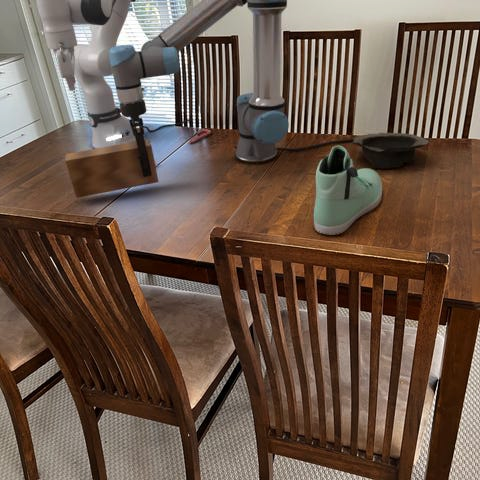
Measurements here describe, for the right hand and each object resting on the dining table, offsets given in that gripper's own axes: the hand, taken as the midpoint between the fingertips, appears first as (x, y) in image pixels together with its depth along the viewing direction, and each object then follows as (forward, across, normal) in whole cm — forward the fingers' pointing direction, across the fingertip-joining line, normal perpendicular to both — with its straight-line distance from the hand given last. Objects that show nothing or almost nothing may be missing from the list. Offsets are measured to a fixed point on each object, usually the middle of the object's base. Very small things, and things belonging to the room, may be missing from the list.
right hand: (146, 171), depth 156 cm
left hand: (-26, +18, +17) cm, 36 cm away
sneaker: (+8, -37, -54) cm, 65 cm away
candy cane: (+7, +43, -25) cm, 51 cm away
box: (+3, 0, +10) cm, 10 cm away
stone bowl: (+9, -9, -82) cm, 83 cm away
